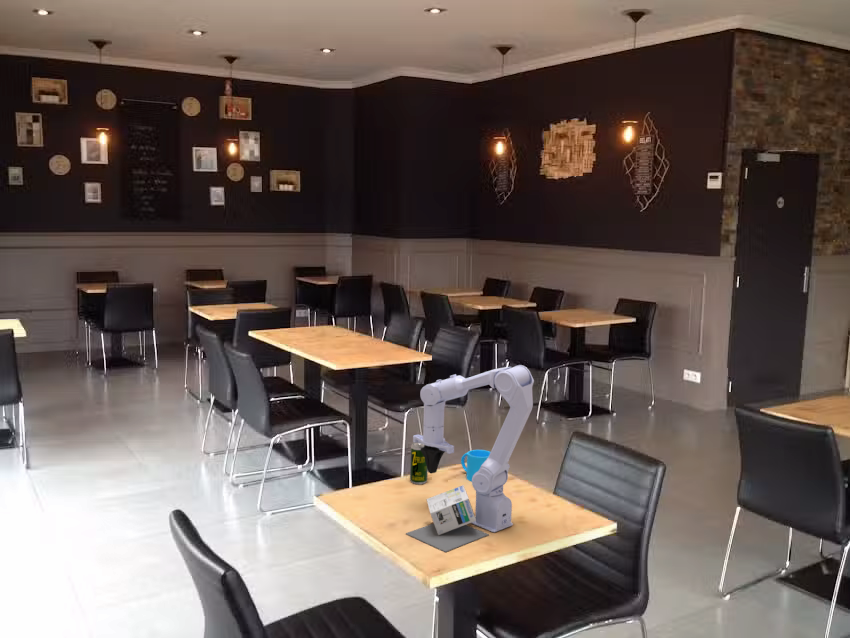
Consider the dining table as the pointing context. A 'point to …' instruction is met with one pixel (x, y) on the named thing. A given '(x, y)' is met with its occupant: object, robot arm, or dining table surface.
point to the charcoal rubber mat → (447, 537)
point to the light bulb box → (451, 510)
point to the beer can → (418, 465)
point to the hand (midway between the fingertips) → (432, 472)
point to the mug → (474, 461)
